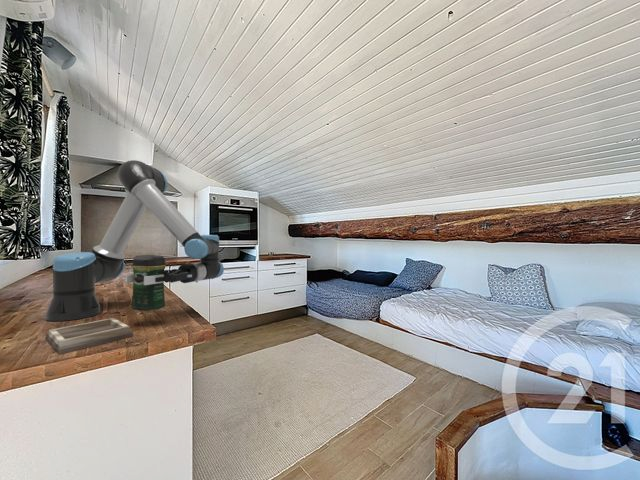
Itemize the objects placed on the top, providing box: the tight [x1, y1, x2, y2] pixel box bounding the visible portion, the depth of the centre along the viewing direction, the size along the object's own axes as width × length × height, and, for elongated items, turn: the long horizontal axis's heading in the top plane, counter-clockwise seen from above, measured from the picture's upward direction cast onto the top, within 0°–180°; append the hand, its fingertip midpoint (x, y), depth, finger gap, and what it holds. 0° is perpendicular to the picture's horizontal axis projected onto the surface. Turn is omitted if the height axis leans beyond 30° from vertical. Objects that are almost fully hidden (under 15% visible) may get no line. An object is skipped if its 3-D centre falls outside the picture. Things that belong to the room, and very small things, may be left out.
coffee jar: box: [131, 254, 167, 312], centre depth 93 cm, size 10×8×19 cm
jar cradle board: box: [45, 317, 134, 355], centre depth 80 cm, size 18×16×3 cm
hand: (135, 279), depth 89 cm, fingers closed on coffee jar, 8 cm apart
